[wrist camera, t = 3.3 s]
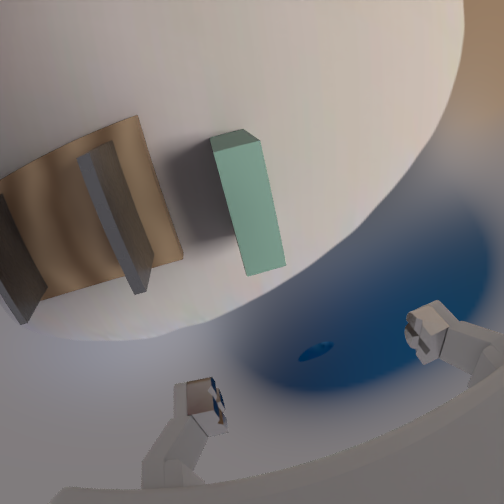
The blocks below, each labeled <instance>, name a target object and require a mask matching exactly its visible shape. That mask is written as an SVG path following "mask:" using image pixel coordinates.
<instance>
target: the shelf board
mask: <svg viewBox="0 0 504 504" xmlns="http://www.w3.org/2000/svg"><path fill="white" fill-rule="evenodd" d="M112 140H113V143H114V146H115V149H116V152H117V155H118V158H119V161H120V164H121V167H122V170H123V173H124V176H125V179H126V182H127V184H128V187H129V190H130V193H131V196H132V198H133V201H134V204H135V206H136V209H137V212H138V214H139V217H140V219H141V222H142V225H143V227H144V230H145V232H146V235H147V237H148V240H149V242H150V245H151V247H152V249H153V252H154V254H155V255H154V259H153V263H152V268H154V267H157V266H161V265H164V264H168V263H171V262H175V261H178V260H182V259H183V250H182V247H181V245H180V242H179V239H178V237H177V234H176V231H175V228H174V226H173V223H172V220H171V217H170V214H169V211H168V209H167V206H166V203H165V200H164V197H163V194H162V191H161V188H160V185H159V182H158V179H157V176H156V173H155V170H154V167H153V164H152V161H151V157H150V154H149V151H148V148H147V145H146V141H145V138H144V135H143V132H142V128H141V125H140V122H139V118H138V115H136V116H133V117H130V118H128V119H125V120H122V121H120V122H117V123H115V124H112V125H109V126H107V127H105V128H102V129H100V130H97V131H95V132H93V133H90V134H88V135H86V136H83V137H81V138H79V139H77V140H75V141H72V142H70V143H68V144H66V145H64V146H62V147H60V148H58V149H56V150H54V151H52V152H50V153H48V154H46V155H44V156H42V157H40V158H38V159H36V160H34V161H32V162H31V163H29V164H27V165H25V166H23V167H22V168H20V169H18V170H16V171H15V172H13V173H11V174H9V175H8V176H6V177H4V178H3V179H1V180H0V194H2V193H3V195H4V198H5V200H6V203H7V205H8V208H9V210H10V212H11V215H12V217H13V219H14V222H15V224H16V226H17V228H18V230H19V232H20V235H21V237H22V239H23V241H24V243H25V245H26V247H27V249H28V251H29V253H30V255H31V257H32V259H33V261H34V263H35V265H36V266H37V268H38V270H39V272H40V274H41V276H42V277H43V279H44V281H45V283H46V284H47V286H48V288H47V290H46V292H45V293H44V295H43V297H42V298H41V300H45V299H48V298H51V297H55V296H58V295H61V294H65V293H68V292H72V291H75V290H78V289H82V288H85V287H88V286H92V285H95V284H99V283H102V282H105V281H109V280H112V279H116V278H119V277H123V276H125V274H124V272H123V270H122V268H121V266H120V264H119V262H118V260H117V258H116V256H115V253H114V251H113V249H112V247H111V245H110V242H109V240H108V238H107V236H106V233H105V231H104V229H103V226H102V224H101V222H100V219H99V217H98V214H97V212H96V210H95V207H94V205H93V202H92V200H91V197H90V195H89V192H88V189H87V187H86V184H85V181H84V179H83V176H82V173H81V170H80V168H79V165H78V162H77V159H76V158H78V157H79V156H81V155H83V154H85V153H87V152H88V151H90V150H92V149H94V148H96V147H98V146H100V145H102V144H104V143H106V142H109V141H112ZM41 300H40V301H41Z"/></svg>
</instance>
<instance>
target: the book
mask: <svg viewBox="0 0 504 504" xmlns="http://www.w3.org/2000/svg"><path fill="white" fill-rule="evenodd" d="M210 142H211V146H212V150H213V153H214V157H215V161H216V164H217V168H218V172H219V176H220V179H221V183H222V187H223V190H224V194H225V198H226V201H227V205H228V208H229V212H230V216H231V219H232V223H233V227H234V232H235V235H236V239H237V243H238V246H239V250H240V254H241V257H242V261H243V265H244V268H245V272H246V275H247V277H248V276H251V275H255V274H259V273H262V272H266V271H269V270H273V269H276V268H280V267H283V266H286V260H285V256H284V251H283V246H282V241H281V236H280V231H279V226H278V222H277V217H276V212H275V207H274V202H273V198H272V193H271V188H270V183H269V179H268V174H267V170H266V165H265V161H264V156H263V152H262V147H261V143H260V140H258V139H257V138H256V137H254V136H253V135H251V134H250V133H248V132H247V131H245V130H244V129H242V130H238V131H234V132H230V133H226V134H222V135H218V136H215V137H211V138H210Z"/></svg>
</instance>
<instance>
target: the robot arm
mask: <svg viewBox="0 0 504 504" xmlns="http://www.w3.org/2000/svg"><path fill="white" fill-rule="evenodd" d="M406 320H407V321H408V322H409V323H408V324H407V326H406V327H405V337H406V340H407V342H408V344H409V345H410V347H411V348H414V349H416V355H417V356H418V358H419V359H420V361H421V362H422V363H423V364H424V365H425V364H427V363H429V362H431V361H433V360H435V359H437V358H439V357H440V359H441V360H443V361H446V362H447V363H449V364H451V365H453V366H455V367H457V368H459V369H461V370H463V371H465V372H467V373H469V374H471V375H472V376H471V378H470V380H469V382H468V385H467V387H468V388H469V389H468V390H466V391H464V392H463V393H461V394H459V395H458V396H456V397H455V398H453V399H451V400H450V401H448V402H446V403H444V404H443V405H441V406H439V407H438V408H436V409H434V410H432V411H430V412H428V413H426V414H425V415H423V416H421V417H419V418H417V419H415V420H413V421H411V422H409V423H407V424H405V425H403V426H401V427H399V428H396V429H394V430H392V431H390V432H388V433H385V434H383V435H381V436H379V437H376V438H374V439H372V440H369V441H367V442H364V443H362V444H360V445H357V446H354V447H351V448H349V449H346V450H343V451H341V452H338V453H335V454H332V455H329V456H326V457H323V458H320V459H317V460H314V461H310V462H307V463H304V464H300V465H297V466H293V467H290V468H286V469H282V470H278V471H274V472H270V473H265V474H261V475H256V476H252V477H247V478H242V479H237V480H231V481H225V482H219V483H212V484H205V481H204V480H203V479H201V478H200V477H199V476H198V475H197V474H195V473H194V472H193V470H194V468H195V466H196V464H197V462H198V460H199V457H200V455H201V453H202V451H203V449H204V447H205V445H206V442H207V440H208V437H211V436H216V435H220V434H224V433H228V426H227V419H226V417H225V415H224V414H223V413H224V411H225V405H224V401H223V397H222V395H221V392H220V390H219V389H218V388H216V384H215V381H214V379H213V378H212V377H210V378H205V379H200V380H195V381H189V382H184V383H179V384H175V386H174V418H173V419H170V420H169V422H168V423H167V425H166V426H165V428H164V429H163V431H162V432H161V434H160V435H159V437H158V438H157V440H156V441H155V443H154V444H153V446H152V447H151V449H150V450H149V452H148V453H147V455H146V456H145V458H144V459H143V461H142V483H141V484H142V485H141V489H131V490H130V489H129V490H128V489H124V490H122V489H121V490H120V489H93V488H80V487H64V488H62V490H60V491H59V492H58V493H57V494H56V495H55V496H54V497H53V498H52V499H51V501H50V502H49V503H48V504H504V334H501V333H498V332H495V331H492V330H489V329H486V328H483V327H479V326H476V325H473V324H470V323H467V322H464V321H460V322H459V321H458V320H457V319H456V318H455V317H454V316H453V314H451V312H450V311H449V310H448V309H447V308H446V307H445V306H444V305H443V304H442V303H441V302H440V301H438V300H436V301H434V302H432V303H430V304H427V305H425V306H422V307H420V308H418V309H416V310H414V311H411V312H410V313H408V315H407V319H406Z"/></svg>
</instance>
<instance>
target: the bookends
mask: <svg viewBox="0 0 504 504" xmlns="http://www.w3.org/2000/svg"><path fill="white" fill-rule="evenodd" d="M76 159H77V162H78V165H79V168H80V170H81V173H82V176H83V179H84V181H85V184H86V187H87V189H88V192H89V195H90V197H91V200H92V202H93V205H94V207H95V210H96V212H97V214H98V217H99V219H100V222H101V224H102V226H103V229H104V231H105V233H106V236H107V238H108V240H109V242H110V245H111V247H112V249H113V251H114V253H115V256H116V258H117V260H118V262H119V264H120V266H121V268H122V270H123V272H124V274H125V276H126V279H127V281H128V283H129V285H130V287H131V289H132V290H133V292H134V294H135V295H136V294H139V293H143V292H146V291H147V286H148V282H149V277H150V272H151V268H152V263H153V259H154V255H155V254H154V252H153V249H152V247H151V245H150V242H149V240H148V237H147V235H146V232H145V230H144V227H143V225H142V222H141V219H140V217H139V214H138V212H137V209H136V206H135V204H134V201H133V198H132V196H131V193H130V190H129V187H128V184H127V182H126V179H125V176H124V173H123V170H122V167H121V164H120V161H119V158H118V155H117V152H116V149H115V146H114V143H113V140H112V141H109V142H106V143H104V144H102V145H100V146H98V147H96V148H94V149H92V150H90V151H88V152H87V153H85V154H83V155H81V156H79V157H78V158H76ZM47 288H48V286H47V284H46V283H45V281H44V279H43V277H42V276H41V274H40V272H39V270H38V268H37V266H36V265H35V263H34V261H33V259H32V257H31V255H30V253H29V251H28V249H27V247H26V245H25V243H24V241H23V239H22V237H21V235H20V232H19V230H18V228H17V226H16V224H15V222H14V219H13V217H12V215H11V212H10V210H9V208H8V205H7V203H6V200H5V198H4V195H3V193H2V194H0V294H1V296H2V297H3V299H4V300H5V302H6V304H7V305H8V307H9V308H10V310H11V311H12V313H13V314H14V316H15V317H16V319H17V320H18V322H19V323H20V325H22V324H26V323H28V321H29V319H30V317H31V316H32V314H33V312H34V310H35V309H36V307H37V305H38V303H39V302H40V300H41V298H42V297H43V295H44V293H45V292H46V290H47Z"/></svg>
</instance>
